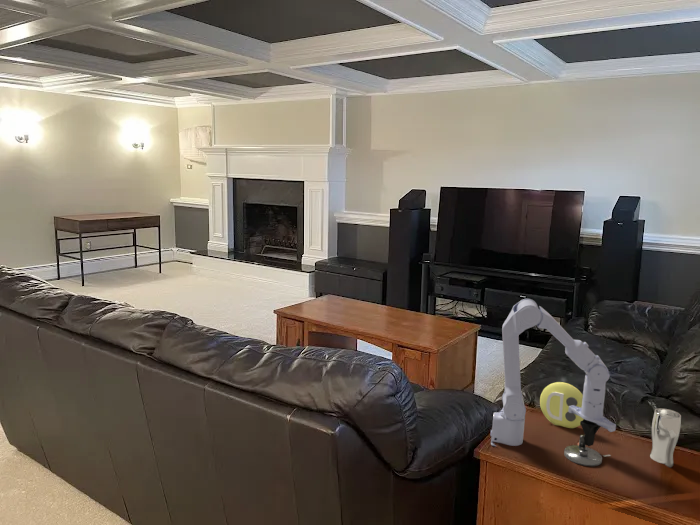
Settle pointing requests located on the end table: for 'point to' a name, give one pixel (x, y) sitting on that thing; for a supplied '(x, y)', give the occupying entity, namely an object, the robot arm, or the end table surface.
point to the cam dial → (582, 454)
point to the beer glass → (665, 435)
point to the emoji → (561, 404)
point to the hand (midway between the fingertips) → (588, 444)
